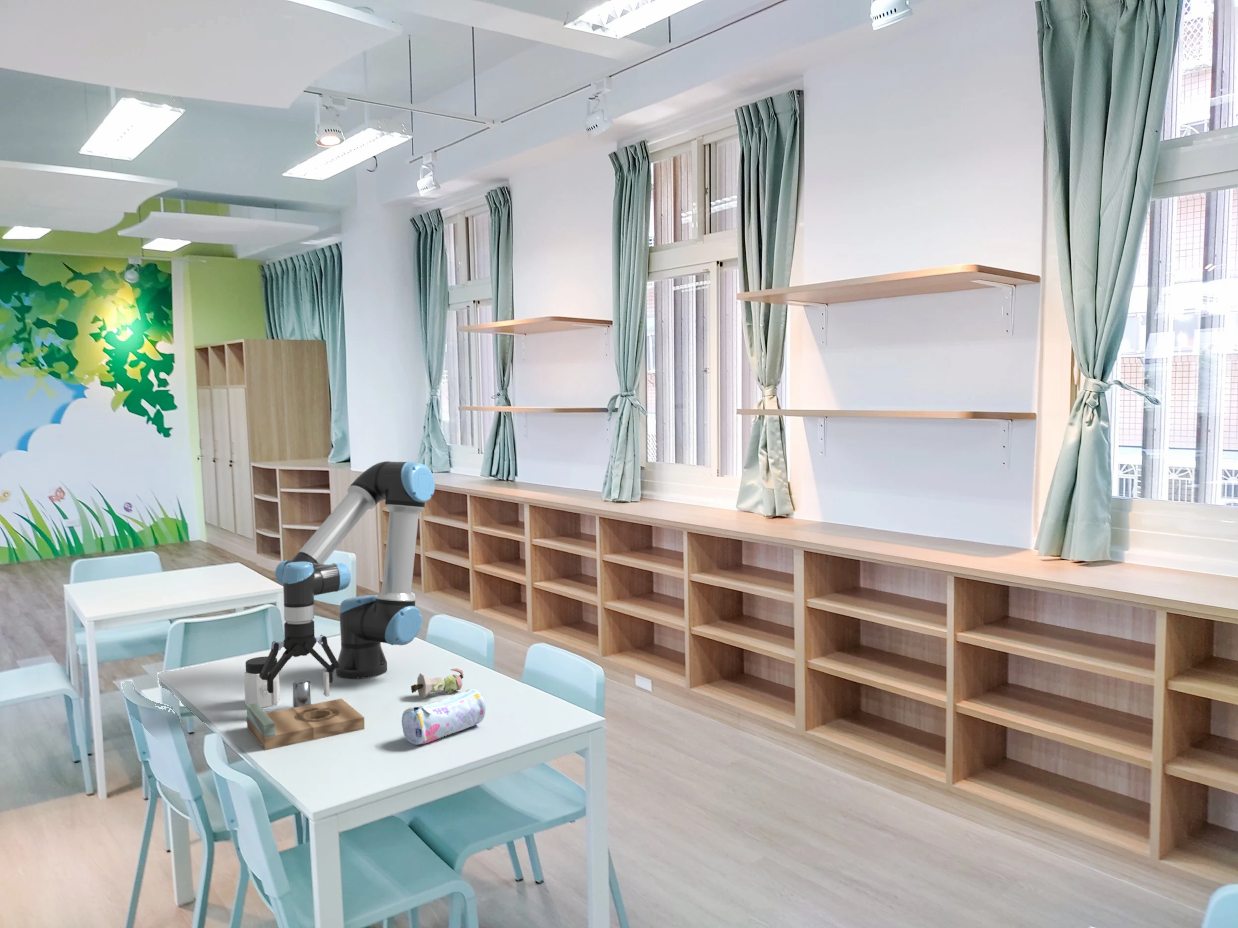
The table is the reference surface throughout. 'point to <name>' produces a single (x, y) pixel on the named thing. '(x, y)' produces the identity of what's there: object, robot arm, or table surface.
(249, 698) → the jar
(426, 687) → the figurine
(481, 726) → the table surface
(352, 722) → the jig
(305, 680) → the grey metal cylinder
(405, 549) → the robot arm
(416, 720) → the pencil case
